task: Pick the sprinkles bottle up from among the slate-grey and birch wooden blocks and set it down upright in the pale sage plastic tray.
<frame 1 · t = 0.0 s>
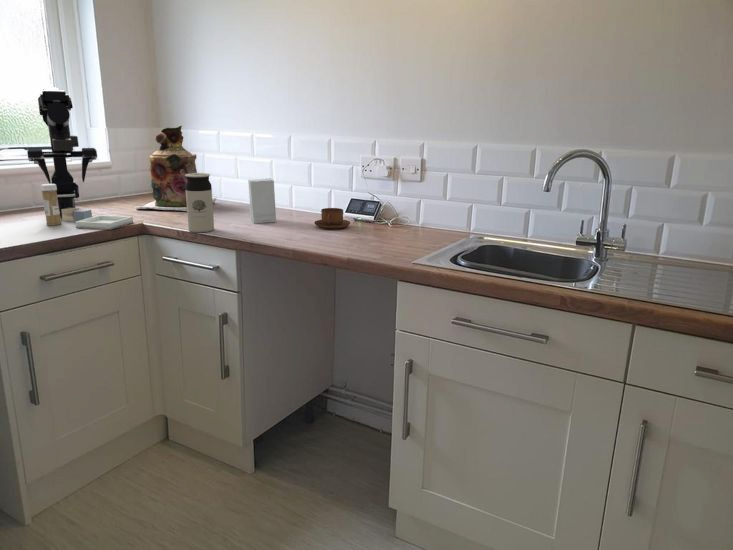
hand: (66, 182, 174), 15 cm above the countertop, tool pointing down, fingers open, 9 cm apart
skincare box: (263, 222, 199), on the countertop
cup and saucer: (332, 228, 191), on the countertop
sage tray: (105, 225, 190), on the countertop
birch block: (71, 220, 198), on the countertop
travel mug: (201, 230, 183), on the countertop
sprinkles bottle: (54, 225, 190), on the countertop
cookie jar: (177, 207, 229), on the countertop
slate block: (83, 221, 195), on the countertop
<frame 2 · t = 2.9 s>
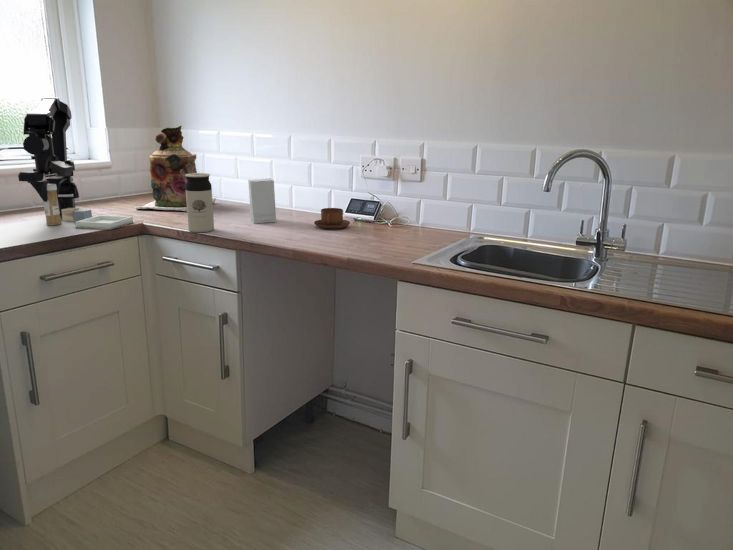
hand: (50, 200, 188), 8 cm above the countertop, tool pointing down, fingers closed on sprinkles bottle, 4 cm apart
sprinkles bottle: (54, 225, 190), on the countertop, touching gripper
everything else where it was.
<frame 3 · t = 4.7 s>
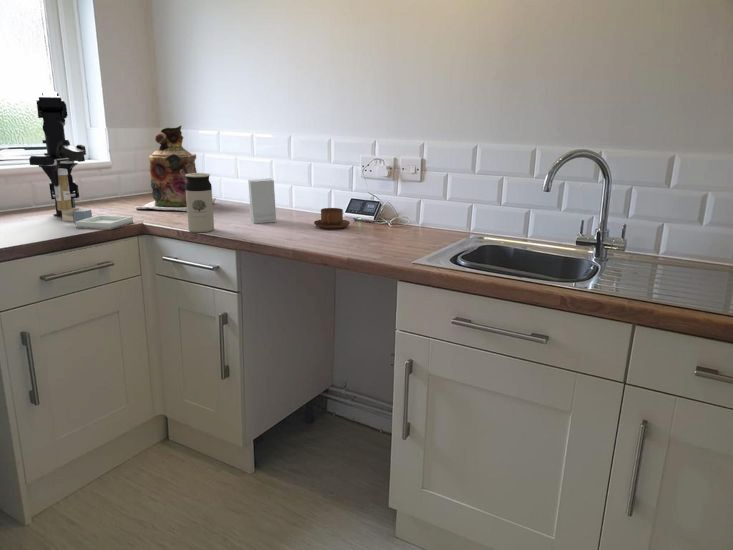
hand: (61, 185, 186), 13 cm above the countertop, tool pointing down, fingers closed on sprinkles bottle, 4 cm apart
sprinkles bottle: (64, 210, 188), point 5 cm above the countertop, touching gripper
everything else where it was.
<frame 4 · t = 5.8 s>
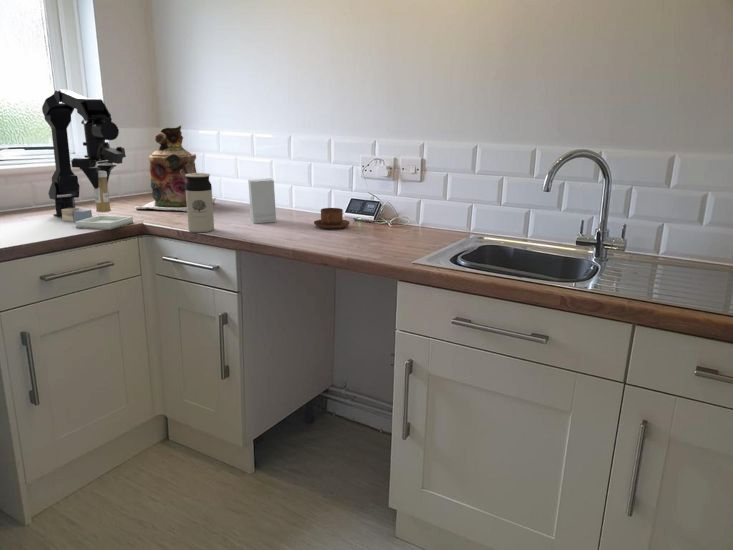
hand: (100, 187, 186), 13 cm above the countertop, tool pointing down, fingers closed on sprinkles bottle, 4 cm apart
sprinkles bottle: (103, 212, 189), point 4 cm above the countertop, touching gripper
everything else where it was.
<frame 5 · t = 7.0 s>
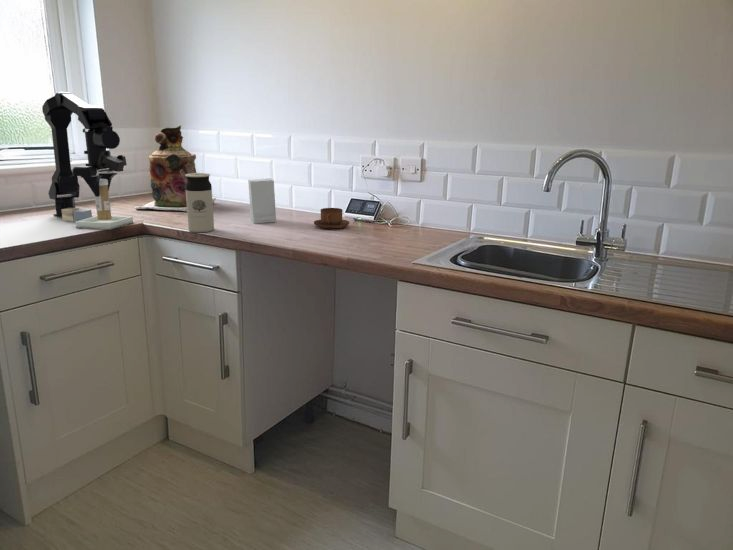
hand: (101, 195, 187), 10 cm above the countertop, tool pointing down, fingers closed on sprinkles bottle, 4 cm apart
sprinkles bottle: (104, 220, 189), point 2 cm above the countertop, touching gripper
everything else where it was.
when the fingers open (10 cm above the countertop, at t = 7.0 s): sprinkles bottle drops 1 cm, resting on sage tray.
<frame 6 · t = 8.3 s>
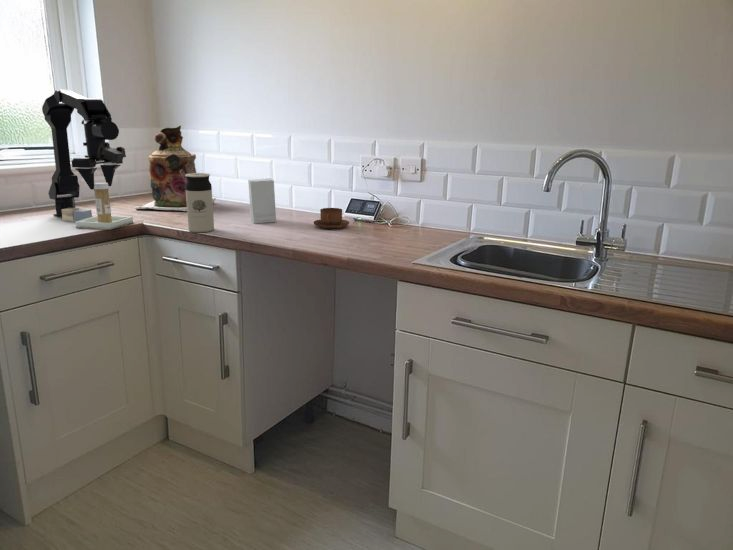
hand: (101, 187, 186), 13 cm above the countertop, tool pointing down, fingers open, 9 cm apart
sprinkles bottle: (105, 223, 190), resting on sage tray
everything else where it was.
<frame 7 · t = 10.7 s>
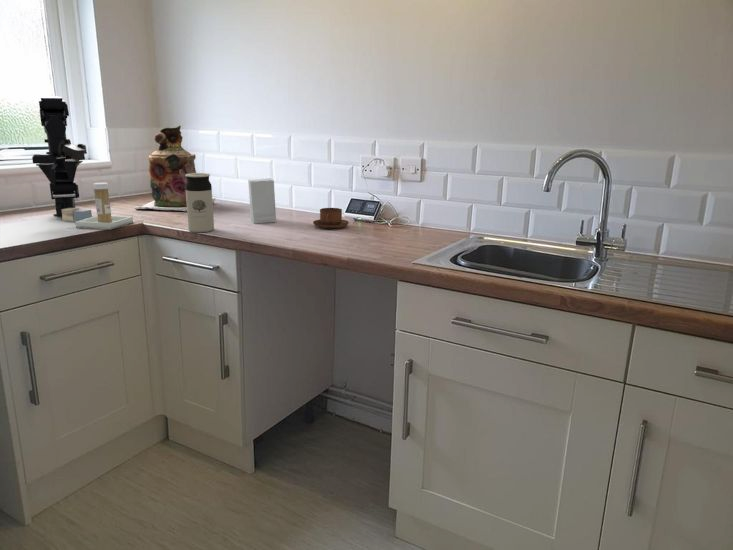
hand: (63, 183, 193), 13 cm above the countertop, tool pointing down, fingers open, 9 cm apart
nothing on the countertop moved.
at the end: sprinkles bottle inside the target area on the sage tray (0.2 cm from its centre), point 0.4 cm above the sage tray's base; sprinkles bottle tilted 0°; the gripper is holding nothing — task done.
